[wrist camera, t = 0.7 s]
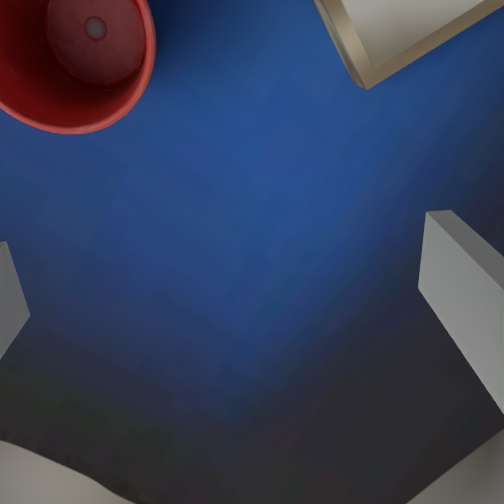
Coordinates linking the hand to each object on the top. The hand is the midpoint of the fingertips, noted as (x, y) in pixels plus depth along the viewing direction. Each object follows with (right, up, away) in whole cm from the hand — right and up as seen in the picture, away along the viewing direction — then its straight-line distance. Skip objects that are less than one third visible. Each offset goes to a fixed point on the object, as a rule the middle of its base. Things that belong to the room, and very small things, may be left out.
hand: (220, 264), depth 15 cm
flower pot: (-10, +16, +19) cm, 27 cm away
